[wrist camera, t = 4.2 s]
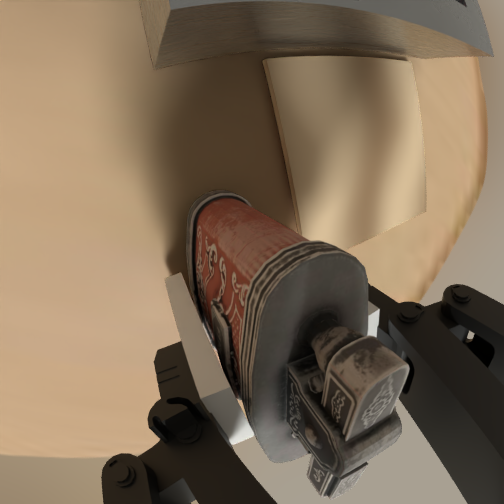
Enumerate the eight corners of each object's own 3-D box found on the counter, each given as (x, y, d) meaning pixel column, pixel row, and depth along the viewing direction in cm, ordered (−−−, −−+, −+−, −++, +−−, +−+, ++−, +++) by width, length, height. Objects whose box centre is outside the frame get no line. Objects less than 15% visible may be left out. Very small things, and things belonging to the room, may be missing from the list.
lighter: (174, 197, 11) (321, 384, 2) (253, 184, 12) (482, 286, 4) (204, 352, 14) (290, 527, 6) (263, 334, 15) (378, 481, 7)
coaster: (303, 264, 15) (307, 267, 14) (262, 60, 10) (266, 58, 10) (421, 209, 17) (426, 211, 17) (406, 62, 13) (411, 61, 12)
